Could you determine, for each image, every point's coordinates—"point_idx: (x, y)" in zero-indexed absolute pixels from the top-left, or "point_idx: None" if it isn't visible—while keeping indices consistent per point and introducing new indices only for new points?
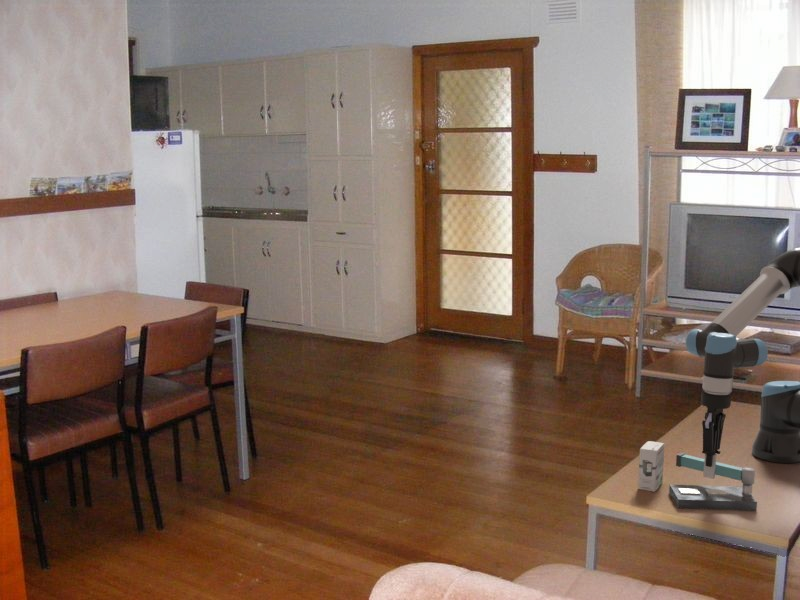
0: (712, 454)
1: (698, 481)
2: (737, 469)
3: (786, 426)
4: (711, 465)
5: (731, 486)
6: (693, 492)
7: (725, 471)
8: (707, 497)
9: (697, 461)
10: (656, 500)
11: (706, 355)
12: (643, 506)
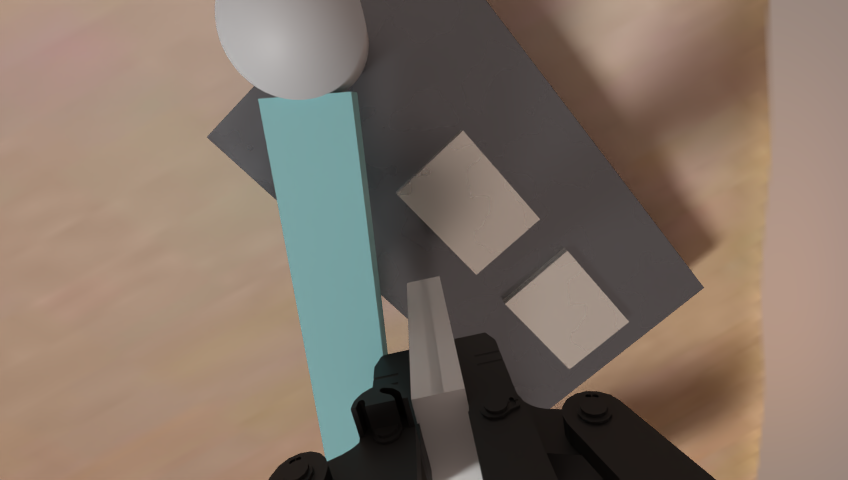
0: (581, 393)
1: (248, 403)
2: (351, 137)
3: None
4: (470, 341)
5: None
6: (578, 284)
7: (372, 239)
8: (574, 199)
9: None
10: (632, 379)
11: None
12: (733, 372)
